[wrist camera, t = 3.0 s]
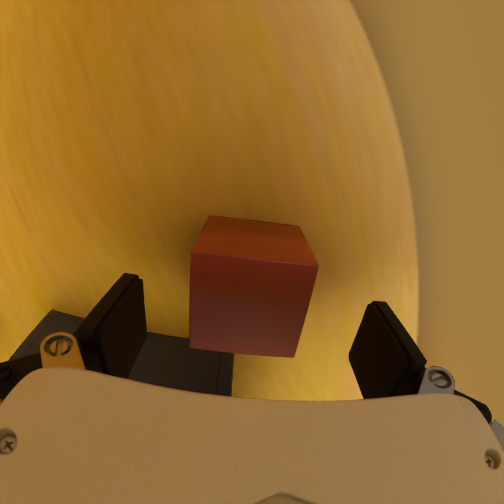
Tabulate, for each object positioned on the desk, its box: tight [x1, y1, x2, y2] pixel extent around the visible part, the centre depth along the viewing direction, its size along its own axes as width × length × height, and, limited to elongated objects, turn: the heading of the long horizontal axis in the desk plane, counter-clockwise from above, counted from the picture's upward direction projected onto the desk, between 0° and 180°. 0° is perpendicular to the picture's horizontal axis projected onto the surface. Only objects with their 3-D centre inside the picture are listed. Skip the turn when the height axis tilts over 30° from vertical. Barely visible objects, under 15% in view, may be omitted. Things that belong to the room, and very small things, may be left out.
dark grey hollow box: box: [8, 310, 234, 397], centre depth 15 cm, size 15×14×9 cm
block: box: [189, 216, 319, 358], centre depth 13 cm, size 4×4×4 cm
